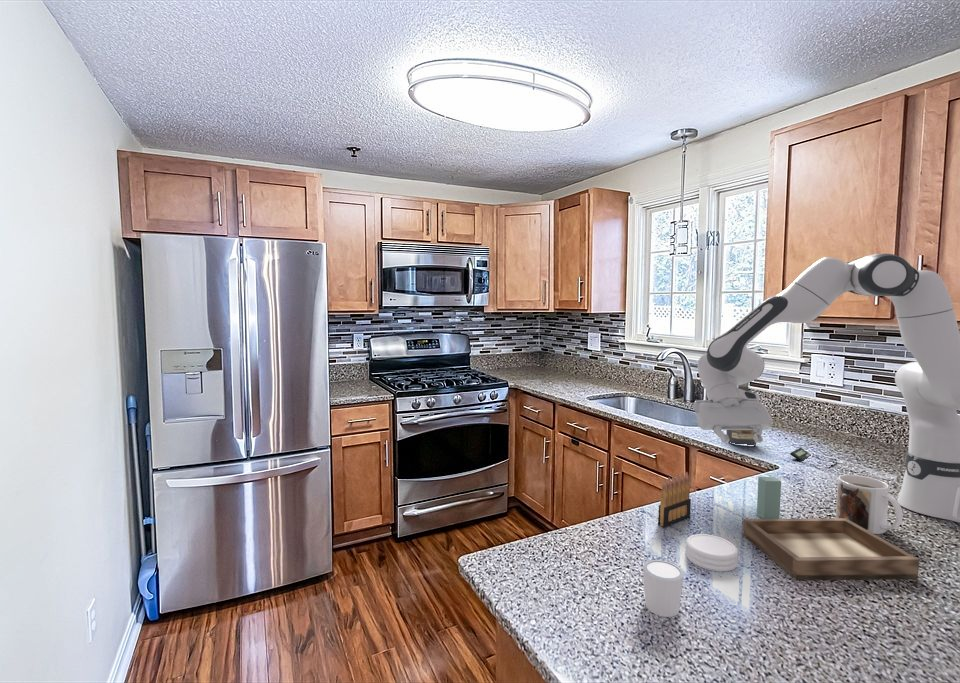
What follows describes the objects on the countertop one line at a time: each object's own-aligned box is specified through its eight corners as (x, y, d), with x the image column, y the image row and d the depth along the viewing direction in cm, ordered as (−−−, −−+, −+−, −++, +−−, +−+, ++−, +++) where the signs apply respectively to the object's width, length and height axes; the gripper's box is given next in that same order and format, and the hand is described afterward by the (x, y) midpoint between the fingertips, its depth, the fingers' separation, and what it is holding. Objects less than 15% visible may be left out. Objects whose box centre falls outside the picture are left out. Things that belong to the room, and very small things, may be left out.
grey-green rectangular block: (771, 514, 124) (773, 476, 123) (779, 519, 121) (781, 480, 120) (756, 514, 124) (758, 476, 123) (763, 519, 121) (765, 481, 120)
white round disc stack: (735, 578, 95) (736, 561, 95) (681, 563, 100) (682, 547, 100) (739, 556, 103) (739, 540, 103) (689, 543, 109) (689, 528, 108)
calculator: (828, 469, 160) (829, 460, 160) (789, 460, 169) (789, 452, 169) (837, 463, 166) (837, 455, 166) (799, 455, 175) (799, 447, 175)
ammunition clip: (664, 528, 116) (665, 480, 115) (657, 525, 118) (659, 477, 117) (690, 518, 122) (692, 472, 121) (684, 515, 123) (685, 469, 123)
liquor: (724, 439, 194) (727, 366, 192) (748, 440, 193) (751, 366, 191) (733, 446, 185) (736, 369, 183) (758, 447, 184) (761, 369, 182)
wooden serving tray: (844, 534, 113) (845, 518, 113) (917, 578, 95) (919, 559, 94) (742, 535, 112) (743, 519, 112) (796, 580, 94) (797, 560, 94)
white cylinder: (635, 596, 89) (636, 559, 88) (671, 594, 89) (672, 558, 89) (651, 620, 82) (653, 581, 81) (690, 618, 82) (691, 579, 82)
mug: (878, 520, 121) (881, 477, 120) (902, 542, 109) (906, 494, 109) (829, 514, 124) (831, 472, 123) (847, 534, 113) (850, 489, 112)
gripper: (694, 394, 140) (710, 436, 131) (763, 394, 140) (784, 435, 131) (687, 406, 145) (701, 447, 136) (754, 406, 145) (772, 447, 136)
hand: (742, 441), depth 134 cm, fingers open, 8 cm apart
